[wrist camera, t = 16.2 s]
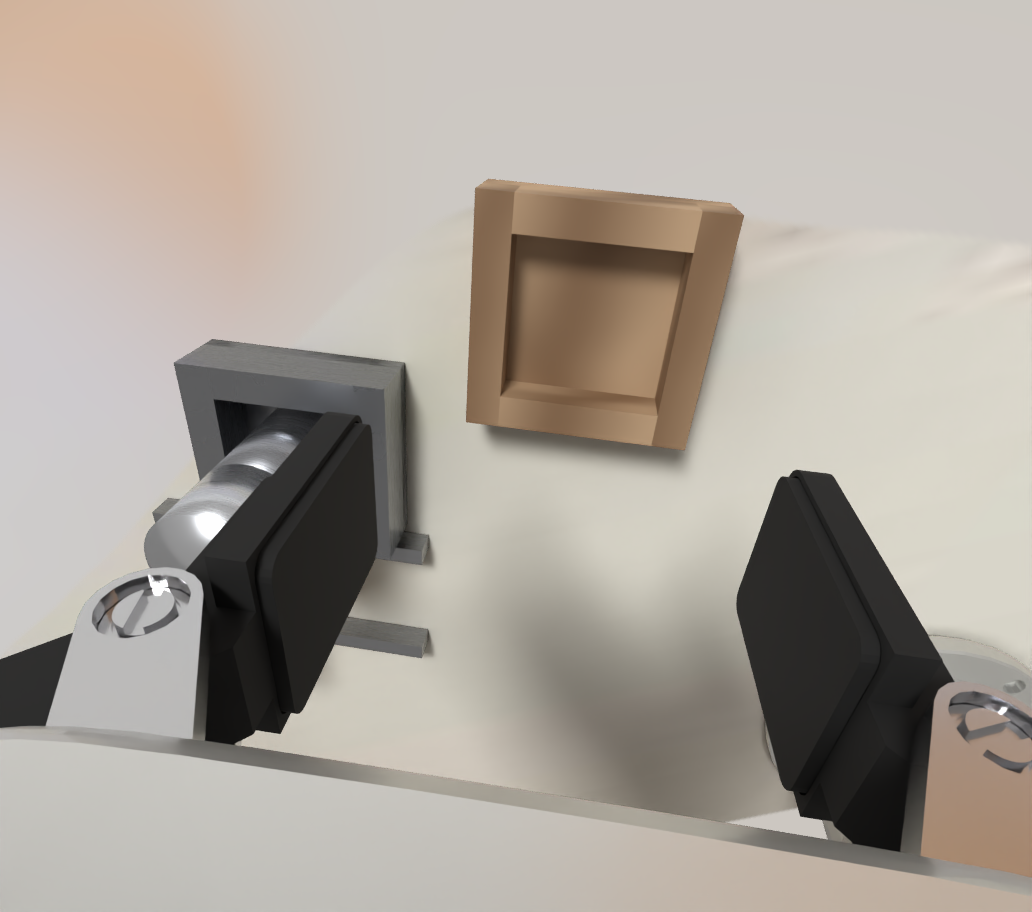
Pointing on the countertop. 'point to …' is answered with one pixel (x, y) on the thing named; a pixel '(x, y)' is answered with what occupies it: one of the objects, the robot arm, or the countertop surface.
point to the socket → (300, 386)
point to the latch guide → (374, 632)
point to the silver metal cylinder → (225, 489)
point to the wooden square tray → (594, 309)
